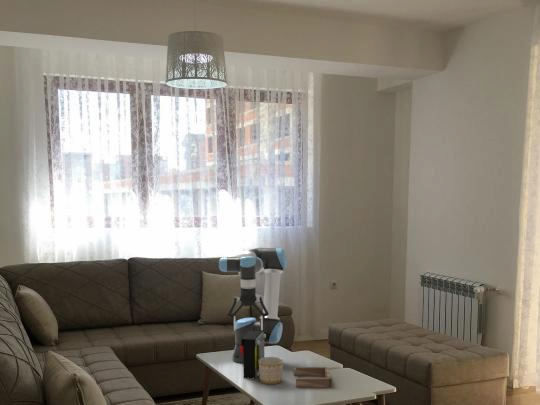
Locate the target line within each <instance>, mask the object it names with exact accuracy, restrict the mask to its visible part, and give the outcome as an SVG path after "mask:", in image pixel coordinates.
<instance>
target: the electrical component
mask: <svg viewBox="0 0 540 405" xmlns="http://www.w3.org/2000/svg"><path fill="white" fill-rule="evenodd" d="M263 338H266V334H263V332H262V331H249V332H248V333H247V334H246V335H245V336H244V337H243V338H242V339H241V345H242V346H240V350H241V354H244V363H243V379H252V378H253V379H257V378H258V377H260V373H259V361H258V360H259V359H261V358H264V357H265V343H264V339H263Z"/></svg>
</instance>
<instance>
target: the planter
mask: <svg viewBox="0 0 540 405" xmlns="http://www.w3.org/2000/svg"><path fill="white" fill-rule="evenodd" d="M258 361H259V373H260V376H259V379H260V382H261V383H262V384H265V385H277V384H280V383H282V380H283V373H284V371H283V370H284V362H285V360H284V359H283V358H281V357H277V356H276V357H275V356H264V358H261V359H259V360H258Z"/></svg>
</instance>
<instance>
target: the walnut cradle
mask: <svg viewBox="0 0 540 405" xmlns="http://www.w3.org/2000/svg"><path fill="white" fill-rule="evenodd" d="M299 376H303V377H299ZM306 376H307V377H306ZM308 376H311V377H308ZM312 376H316V377H312ZM317 376H320V377H317ZM321 376H322V377H321ZM323 376H324V377H323ZM293 377H295V388H332V377H331V374H330V372H329V370H328V367H327V366H324V367H323V366H320V367H319V366H316V367H315V366H313V367H312V366H311V367H310V366H308V367H307V366H306V367H305V366H302V367H297V366H294V367H293ZM304 377H305V378H304Z"/></svg>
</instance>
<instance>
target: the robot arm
mask: <svg viewBox="0 0 540 405" xmlns="http://www.w3.org/2000/svg"><path fill="white" fill-rule="evenodd" d="M287 268H288V258H287V252H286V250H285V249H284V248H279V247H278V248H277V247H257V248H251V249H248V250H245V251H244V252H243V253H241V254H237V255H234V256H231V257H229V256H225V257H224V256H223V257H220V259H219V261H218V269H219V270H220V271H221V272H224V273H240V297H237V296H234V299H233V302H232V305H231V307H230V309H229V311H228V313H227V316H228V317H230V318H231V324H233V332H234V334H235V336H234V337H235V339H234V340H235V341H234V342H235V345H234V349H233V352H232V355H231V359H232V361H233V363H234V362H235V363H237V364H239V363H240V364H244V354H241V350H240V346H242V345H241V339H242V338H243V337H244V336H245V335H246V334H247V333H248V332H249V331H262V332H263V334H266V338H263V339H264V344H278V343H279V342H280V340H281V338H282V334H283V330H284V328H283V323H282V322H281V319H280V317H278V312H279V302H280V300H279V298H280V287H281V286H280V285H281V274H283V273H284V269H285V270H286V269H287ZM262 269H263V272H264V273H265V280H264V290H263V291H264V294H263V296H256V295H257V292H256V291H257V290H256V286H257V285H256V273H258V272H260V271H261V270H262ZM262 297H263V298H262ZM239 301H240V304H239V305H238V307H237V308H236V309H235V306H236V305H237V302H239ZM257 301H258V302H259V303H260V305H261V307H262V309H261V308H260V307H259V306H258V305H257V303H256V302H257ZM252 306H253V307H254V308H255V309H256V310H257V311H258V313H259V314H260V316H259V318H258V319H259V321H258V320H257V319H256V318H255V317H244V318H240V319H238V320H236V315H237V314H238V312H240V310H241V309H242V308H243V307H252ZM233 310H234V311H233Z"/></svg>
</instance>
